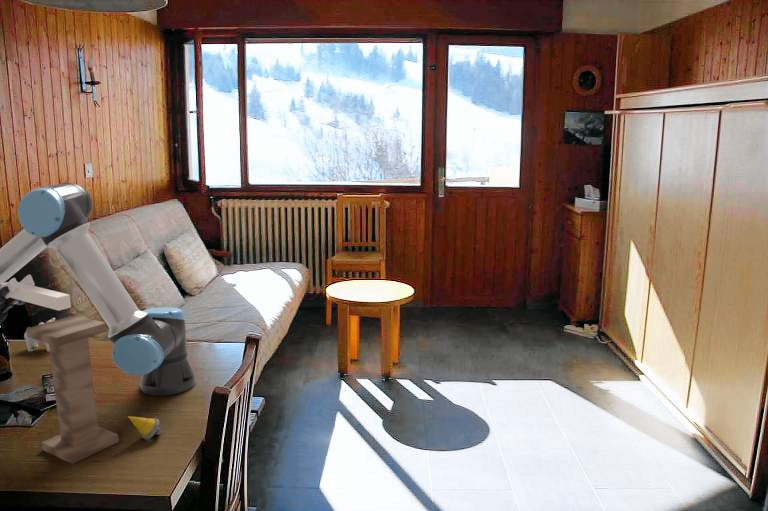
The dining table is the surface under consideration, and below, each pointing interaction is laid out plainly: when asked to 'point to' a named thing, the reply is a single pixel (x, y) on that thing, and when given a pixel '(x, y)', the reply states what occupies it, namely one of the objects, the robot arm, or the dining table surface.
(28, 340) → the dog figurine
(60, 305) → the bar
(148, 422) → the drill bit
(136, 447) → the dining table surface
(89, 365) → the pedestal
